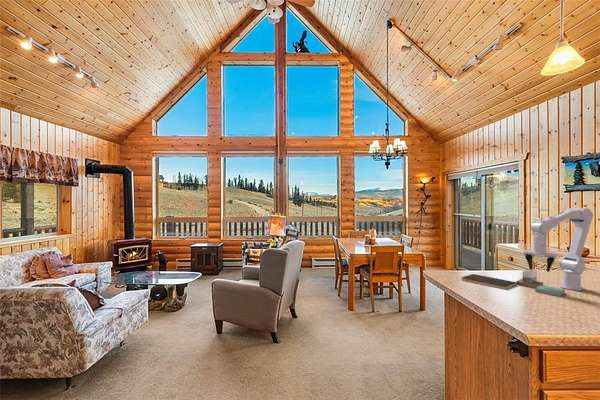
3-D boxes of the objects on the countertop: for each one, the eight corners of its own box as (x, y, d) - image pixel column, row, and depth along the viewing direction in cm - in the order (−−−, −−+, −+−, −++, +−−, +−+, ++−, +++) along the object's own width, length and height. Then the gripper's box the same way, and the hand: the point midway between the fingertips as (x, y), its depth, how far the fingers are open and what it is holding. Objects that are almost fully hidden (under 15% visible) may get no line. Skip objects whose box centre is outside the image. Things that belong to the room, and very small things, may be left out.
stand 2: (541, 288, 172) (541, 284, 172) (564, 293, 165) (564, 289, 165) (535, 291, 166) (535, 287, 166) (559, 296, 158) (559, 292, 158)
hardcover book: (505, 290, 169) (505, 286, 169) (461, 281, 187) (461, 277, 187) (516, 286, 179) (516, 281, 179) (473, 277, 197) (473, 273, 197)
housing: (527, 279, 183) (527, 269, 183) (536, 281, 180) (536, 270, 180) (522, 281, 178) (522, 271, 178) (532, 283, 175) (532, 272, 175)
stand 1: (522, 282, 186) (522, 278, 186) (543, 285, 178) (543, 282, 178) (516, 284, 180) (516, 281, 180) (537, 288, 172) (537, 285, 172)
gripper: (521, 243, 174) (521, 268, 174) (555, 247, 163) (554, 273, 163) (525, 242, 178) (525, 267, 178) (558, 246, 167) (557, 271, 167)
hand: (539, 270), depth 171 cm, fingers open, 7 cm apart
